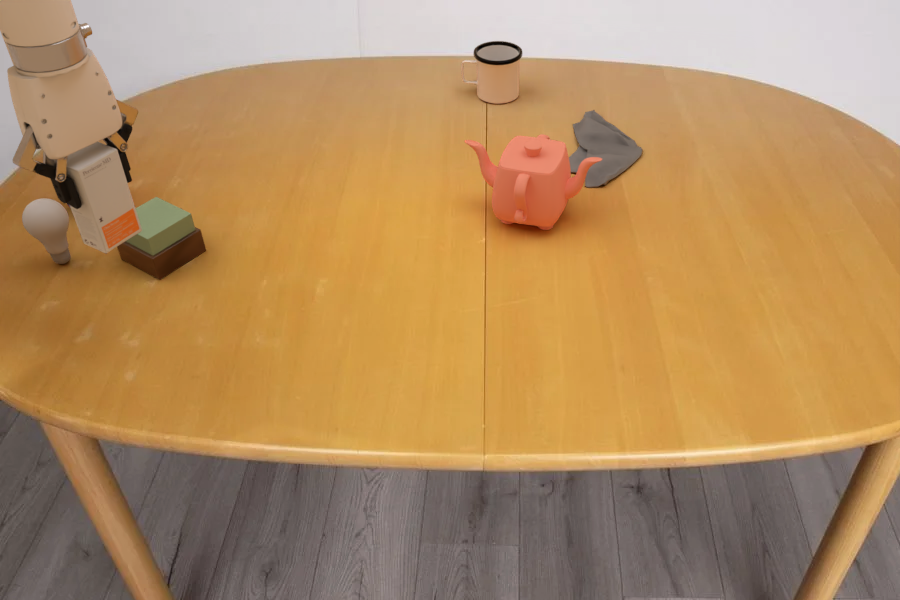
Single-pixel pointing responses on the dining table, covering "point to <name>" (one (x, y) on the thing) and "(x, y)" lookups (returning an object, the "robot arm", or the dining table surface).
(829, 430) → the dining table surface
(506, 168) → the teapot
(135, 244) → the green block
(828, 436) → the dining table surface
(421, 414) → the dining table surface
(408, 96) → the dining table surface
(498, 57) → the mug
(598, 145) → the cloth
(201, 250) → the walnut block
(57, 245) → the lightbulb
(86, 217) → the cosmetic box
